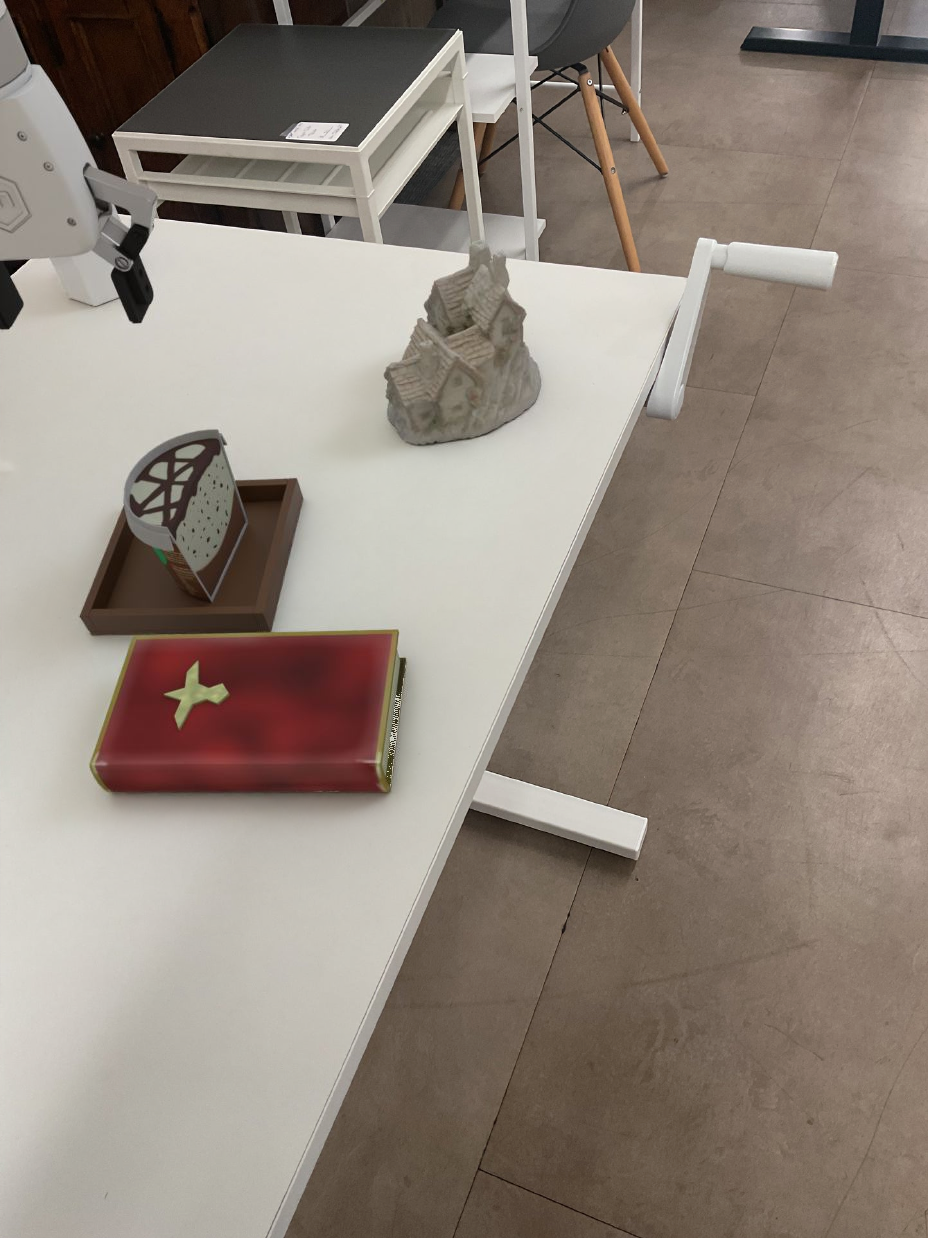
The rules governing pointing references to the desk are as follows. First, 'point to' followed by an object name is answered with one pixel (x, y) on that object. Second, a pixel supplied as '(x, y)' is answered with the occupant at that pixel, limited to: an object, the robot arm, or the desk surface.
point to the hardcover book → (253, 713)
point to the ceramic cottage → (464, 358)
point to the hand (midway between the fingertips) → (77, 314)
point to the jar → (87, 276)
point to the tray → (154, 603)
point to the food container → (188, 509)
